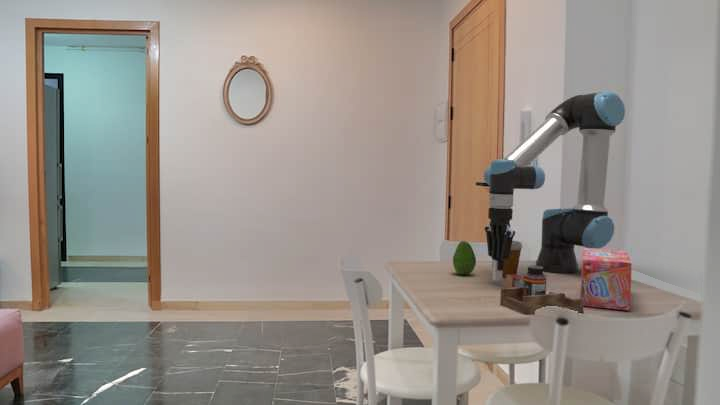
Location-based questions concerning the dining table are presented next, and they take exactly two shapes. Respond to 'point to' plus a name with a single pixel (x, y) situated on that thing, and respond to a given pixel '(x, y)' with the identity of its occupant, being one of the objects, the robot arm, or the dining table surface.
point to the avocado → (464, 258)
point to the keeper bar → (513, 281)
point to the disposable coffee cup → (512, 259)
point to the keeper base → (537, 301)
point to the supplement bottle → (534, 281)
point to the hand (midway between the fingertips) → (497, 279)
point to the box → (606, 279)
